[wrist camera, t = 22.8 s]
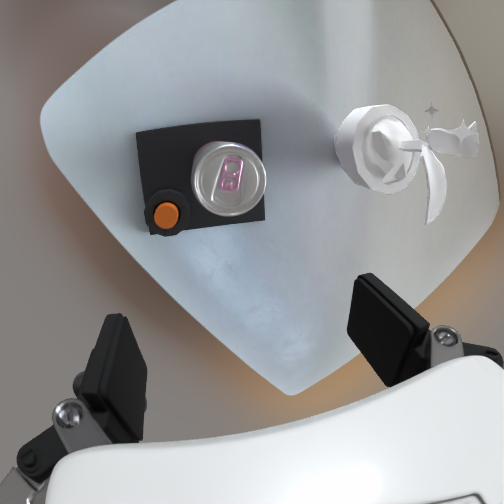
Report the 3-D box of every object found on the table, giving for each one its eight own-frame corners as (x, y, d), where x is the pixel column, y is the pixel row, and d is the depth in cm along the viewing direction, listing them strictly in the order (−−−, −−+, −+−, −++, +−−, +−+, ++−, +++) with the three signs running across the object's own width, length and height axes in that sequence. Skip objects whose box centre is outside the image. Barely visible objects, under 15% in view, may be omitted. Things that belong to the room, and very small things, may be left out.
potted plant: (336, 93, 34) (479, 75, 11) (389, 134, 38) (522, 159, 15) (300, 164, 37) (433, 212, 15) (358, 199, 41) (483, 266, 19)
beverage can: (243, 145, 33) (275, 150, 20) (234, 189, 35) (261, 223, 22) (196, 138, 32) (197, 137, 18) (189, 183, 34) (186, 214, 20)
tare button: (157, 226, 34) (156, 230, 32) (154, 203, 33) (152, 207, 31) (180, 223, 34) (179, 227, 33) (177, 200, 33) (176, 203, 32)
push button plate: (151, 231, 37) (148, 239, 34) (138, 132, 31) (133, 132, 28) (262, 217, 39) (268, 223, 37) (257, 119, 33) (263, 118, 31)
